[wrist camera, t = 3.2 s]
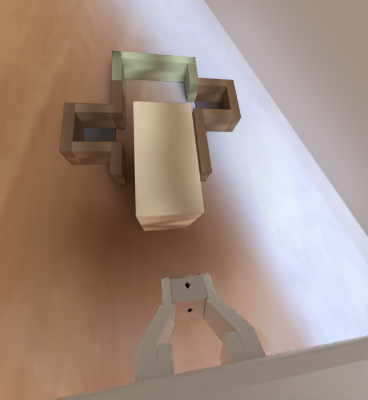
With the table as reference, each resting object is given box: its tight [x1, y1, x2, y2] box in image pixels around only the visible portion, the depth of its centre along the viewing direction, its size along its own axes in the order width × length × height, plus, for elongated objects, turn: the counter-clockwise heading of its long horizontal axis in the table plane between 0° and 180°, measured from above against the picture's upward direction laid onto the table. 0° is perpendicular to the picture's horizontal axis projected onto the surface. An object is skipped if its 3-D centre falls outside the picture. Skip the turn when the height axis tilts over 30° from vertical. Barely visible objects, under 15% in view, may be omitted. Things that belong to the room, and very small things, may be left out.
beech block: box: [133, 101, 204, 231], centre depth 19 cm, size 5×10×9 cm, turn 5°
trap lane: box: [59, 51, 241, 184], centre depth 24 cm, size 22×18×3 cm
